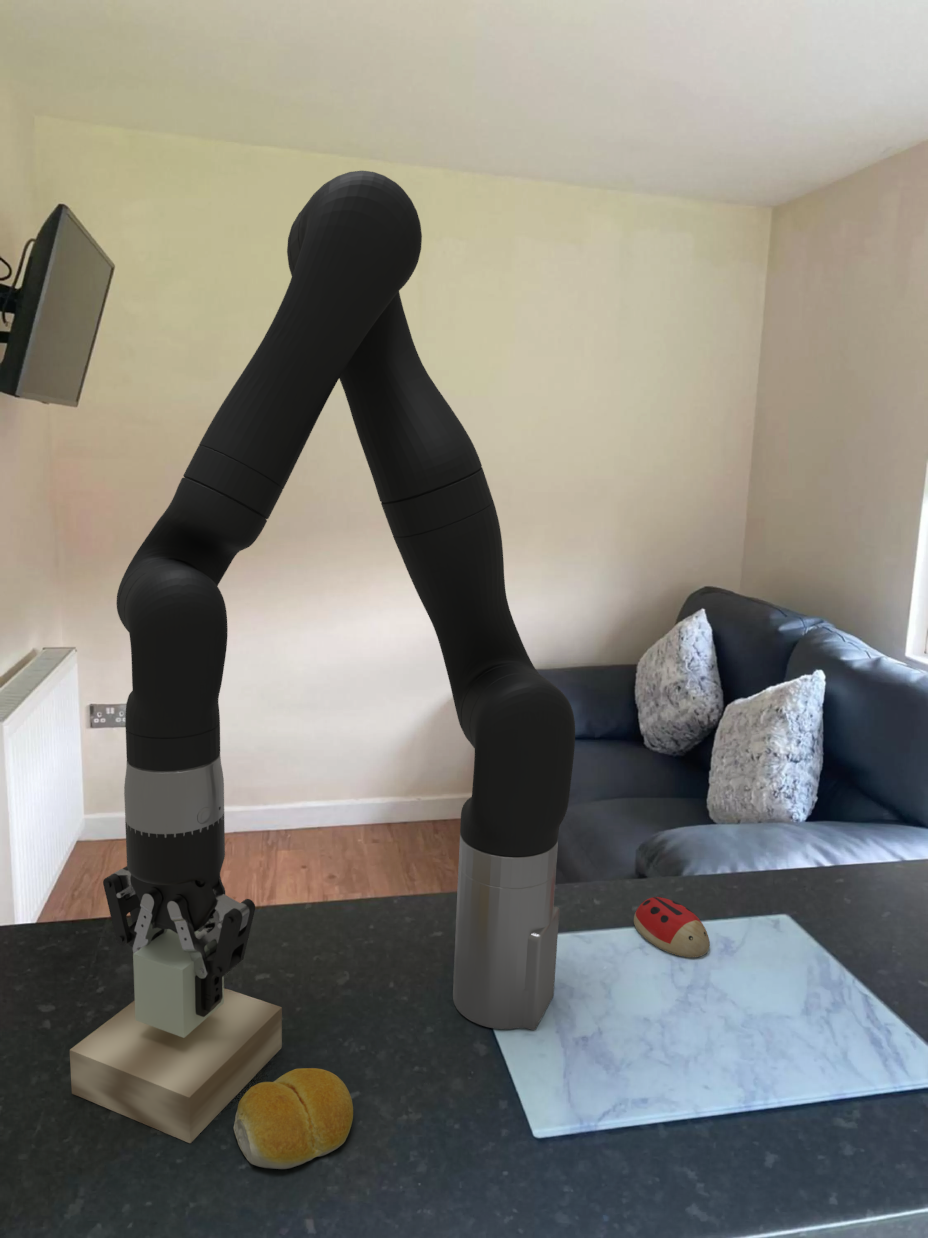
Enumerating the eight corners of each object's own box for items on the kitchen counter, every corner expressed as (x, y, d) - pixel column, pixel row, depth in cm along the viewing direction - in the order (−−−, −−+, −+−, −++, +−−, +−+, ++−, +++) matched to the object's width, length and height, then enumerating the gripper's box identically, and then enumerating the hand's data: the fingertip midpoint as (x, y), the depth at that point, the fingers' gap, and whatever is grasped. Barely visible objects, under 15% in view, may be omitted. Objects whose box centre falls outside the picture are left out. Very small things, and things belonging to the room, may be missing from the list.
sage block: (224, 1003, 74) (223, 939, 73) (184, 1038, 70) (182, 970, 68) (177, 987, 76) (175, 924, 75) (135, 1020, 71) (133, 954, 70)
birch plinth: (281, 1047, 77) (281, 1007, 76) (190, 1143, 66) (189, 1097, 65) (174, 1009, 82) (173, 971, 81) (71, 1093, 71) (69, 1050, 70)
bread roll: (370, 1141, 67) (371, 1096, 67) (258, 1192, 62) (258, 1144, 62) (325, 1076, 74) (325, 1034, 73) (221, 1117, 69) (221, 1073, 68)
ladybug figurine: (681, 969, 92) (685, 938, 91) (616, 925, 100) (619, 897, 99) (724, 951, 96) (727, 921, 95) (657, 910, 104) (660, 882, 103)
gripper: (278, 810, 70) (278, 1000, 73) (139, 778, 75) (145, 956, 79) (218, 848, 63) (221, 1055, 67) (70, 809, 69) (80, 1003, 72)
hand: (180, 1000), depth 73 cm, fingers closed on sage block, 5 cm apart
